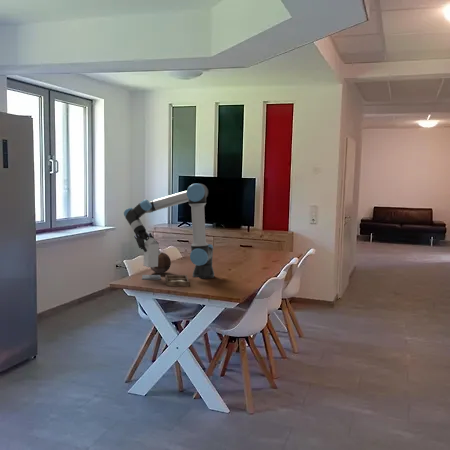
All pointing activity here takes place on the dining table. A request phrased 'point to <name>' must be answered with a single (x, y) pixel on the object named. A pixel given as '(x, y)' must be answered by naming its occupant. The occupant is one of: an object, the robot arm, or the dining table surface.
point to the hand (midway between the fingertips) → (154, 254)
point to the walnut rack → (170, 281)
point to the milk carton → (153, 249)
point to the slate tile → (151, 277)
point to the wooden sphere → (162, 263)
